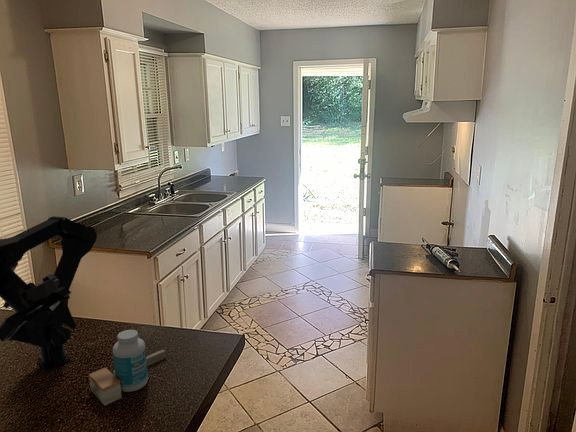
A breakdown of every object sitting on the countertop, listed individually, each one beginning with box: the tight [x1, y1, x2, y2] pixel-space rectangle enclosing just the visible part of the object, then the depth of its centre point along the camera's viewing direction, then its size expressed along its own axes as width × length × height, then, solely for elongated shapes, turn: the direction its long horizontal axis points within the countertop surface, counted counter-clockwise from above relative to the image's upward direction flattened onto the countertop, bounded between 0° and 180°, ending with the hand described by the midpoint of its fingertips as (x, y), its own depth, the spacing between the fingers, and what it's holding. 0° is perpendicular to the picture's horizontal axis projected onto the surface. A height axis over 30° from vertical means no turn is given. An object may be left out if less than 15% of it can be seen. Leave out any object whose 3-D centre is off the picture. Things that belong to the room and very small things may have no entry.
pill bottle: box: [112, 329, 149, 393], centre depth 106 cm, size 8×7×14 cm
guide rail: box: [112, 349, 167, 376], centre depth 114 cm, size 1×14×2 cm, turn 135°
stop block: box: [88, 366, 123, 406], centre depth 103 cm, size 8×4×4 cm, turn 45°
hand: (62, 337), depth 103 cm, fingers open, 9 cm apart
